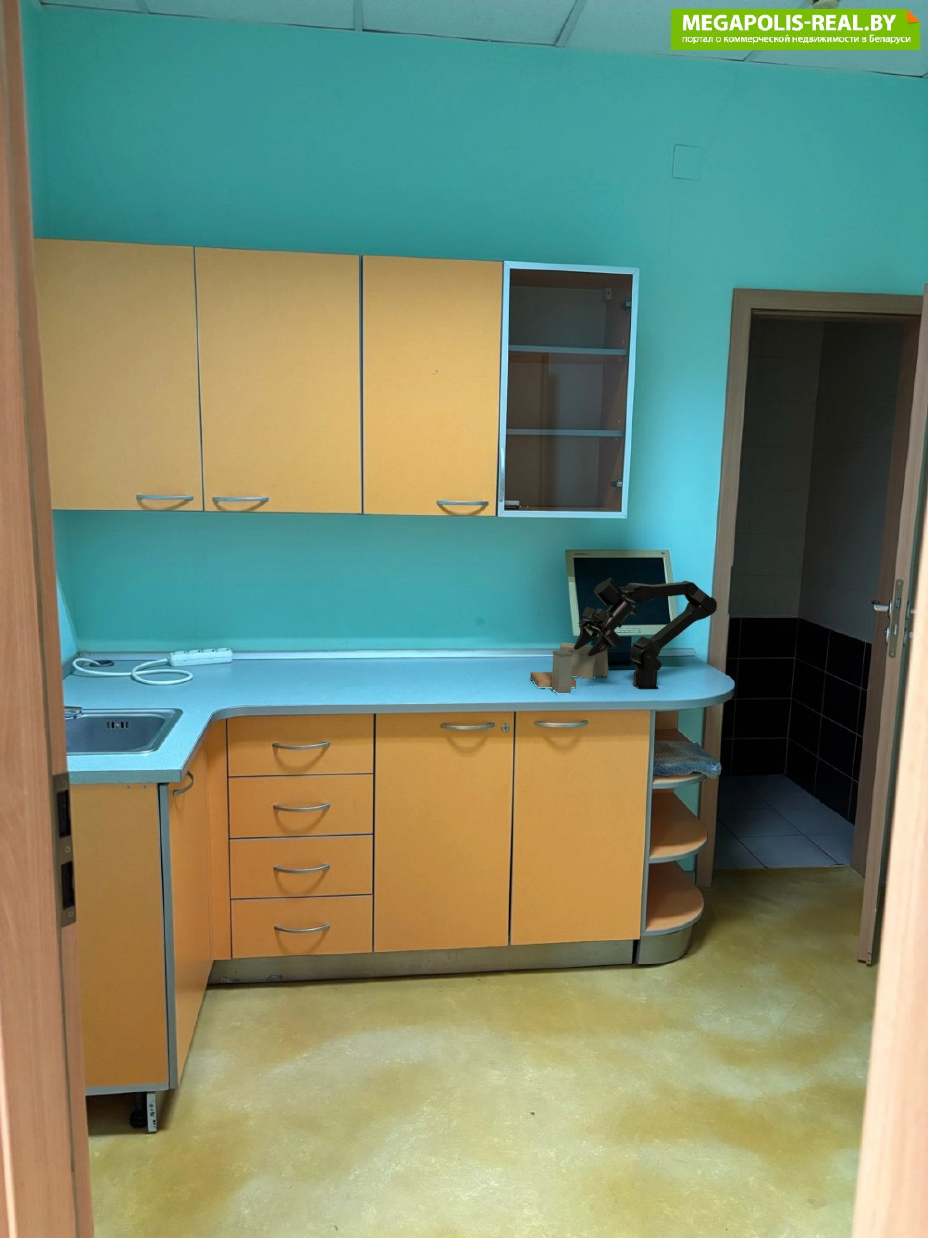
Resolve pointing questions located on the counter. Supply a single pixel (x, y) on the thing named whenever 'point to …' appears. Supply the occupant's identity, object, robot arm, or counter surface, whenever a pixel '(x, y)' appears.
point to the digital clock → (587, 661)
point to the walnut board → (546, 679)
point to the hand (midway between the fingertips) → (581, 652)
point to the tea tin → (562, 671)
